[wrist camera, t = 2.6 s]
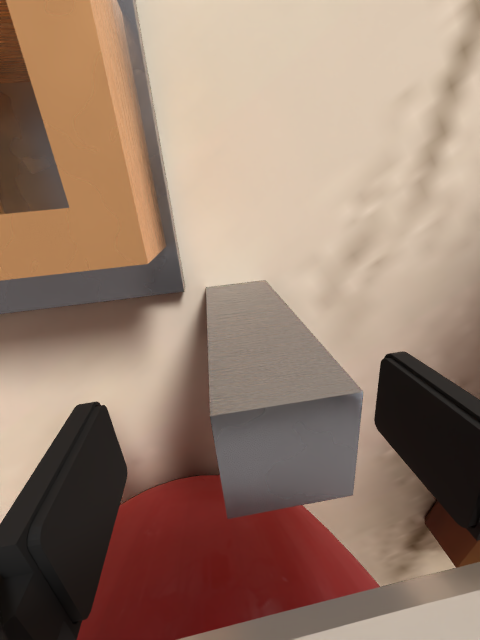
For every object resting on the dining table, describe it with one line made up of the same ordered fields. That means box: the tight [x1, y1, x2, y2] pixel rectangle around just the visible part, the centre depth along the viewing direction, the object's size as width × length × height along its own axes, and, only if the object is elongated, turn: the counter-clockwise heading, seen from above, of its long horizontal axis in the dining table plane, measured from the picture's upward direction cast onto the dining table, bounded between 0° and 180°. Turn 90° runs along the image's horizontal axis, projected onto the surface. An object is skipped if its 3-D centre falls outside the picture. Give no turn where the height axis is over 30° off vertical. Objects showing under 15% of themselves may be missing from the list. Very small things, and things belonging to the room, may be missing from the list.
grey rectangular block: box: [206, 280, 363, 519], centre depth 12 cm, size 4×4×11 cm
